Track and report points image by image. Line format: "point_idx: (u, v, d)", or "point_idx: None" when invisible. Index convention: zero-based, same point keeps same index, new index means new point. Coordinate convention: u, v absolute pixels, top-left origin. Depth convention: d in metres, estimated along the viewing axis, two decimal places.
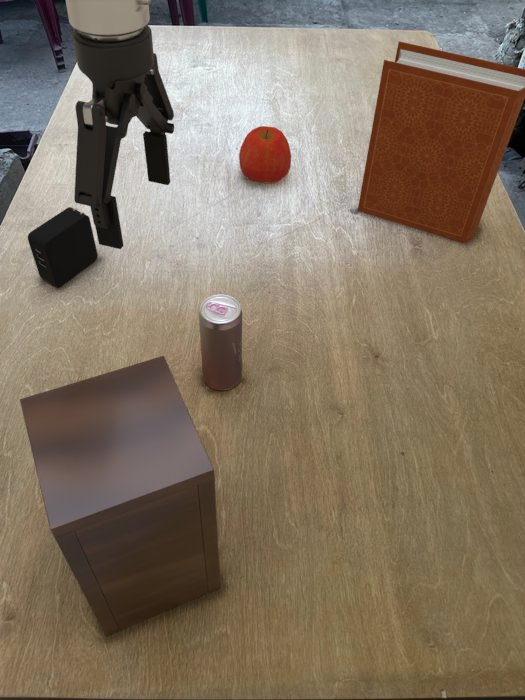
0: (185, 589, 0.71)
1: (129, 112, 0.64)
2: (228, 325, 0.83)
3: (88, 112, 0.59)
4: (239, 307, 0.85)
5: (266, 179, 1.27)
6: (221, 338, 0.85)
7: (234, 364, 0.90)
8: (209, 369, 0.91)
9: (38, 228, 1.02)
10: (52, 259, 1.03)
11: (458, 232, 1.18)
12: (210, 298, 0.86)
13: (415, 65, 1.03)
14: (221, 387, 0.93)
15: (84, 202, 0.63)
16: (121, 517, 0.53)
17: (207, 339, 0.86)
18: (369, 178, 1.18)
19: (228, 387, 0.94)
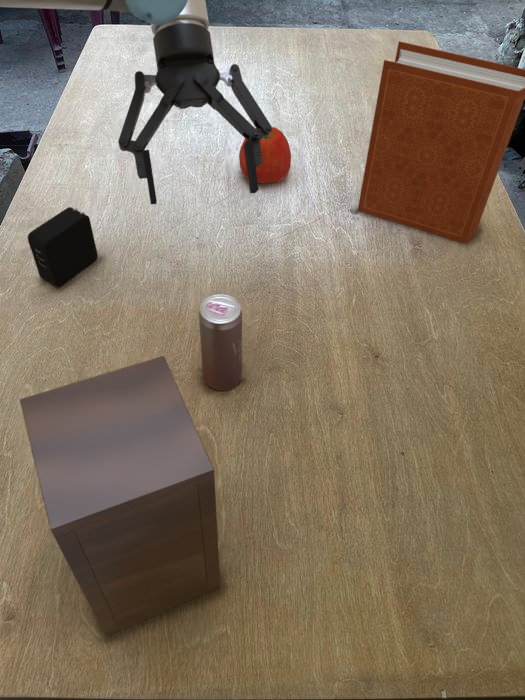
0: (185, 589, 0.71)
1: None
2: (228, 325, 0.83)
3: None
4: (239, 307, 0.85)
5: (266, 179, 1.27)
6: (221, 338, 0.85)
7: (234, 364, 0.90)
8: (209, 369, 0.91)
9: (38, 228, 1.02)
10: (52, 259, 1.03)
11: (458, 232, 1.18)
12: (210, 298, 0.86)
13: (415, 65, 1.03)
14: (221, 387, 0.93)
15: None
16: (121, 517, 0.53)
17: (207, 339, 0.86)
18: (369, 178, 1.18)
19: (228, 387, 0.94)
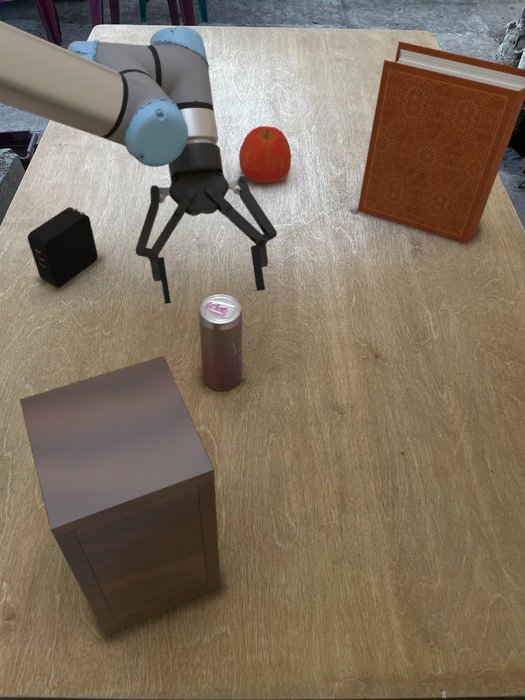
0: (185, 589, 0.71)
1: None
2: (228, 325, 0.83)
3: None
4: (239, 307, 0.85)
5: (266, 179, 1.27)
6: (221, 338, 0.85)
7: (234, 364, 0.90)
8: (209, 369, 0.91)
9: (38, 228, 1.02)
10: (52, 259, 1.03)
11: (458, 232, 1.18)
12: (210, 298, 0.86)
13: (415, 65, 1.03)
14: (221, 387, 0.93)
15: None
16: (121, 517, 0.53)
17: (207, 339, 0.86)
18: (369, 178, 1.18)
19: (228, 387, 0.94)
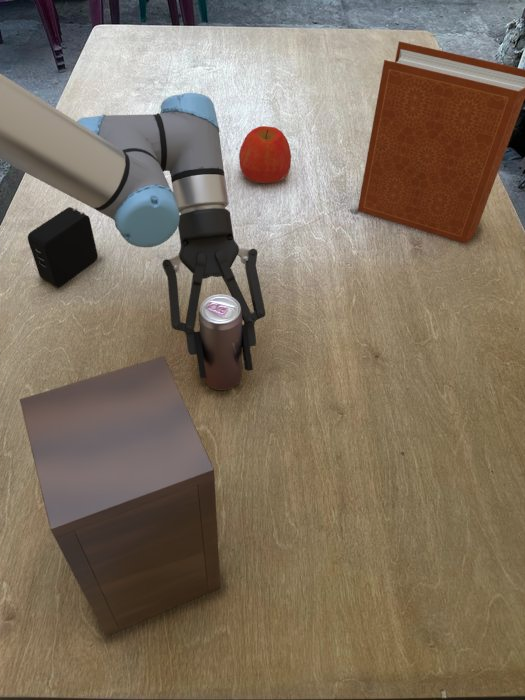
0: (185, 589, 0.71)
1: None
2: (228, 325, 0.83)
3: None
4: (239, 307, 0.85)
5: (266, 179, 1.27)
6: (221, 338, 0.85)
7: (234, 364, 0.90)
8: (209, 369, 0.91)
9: (38, 228, 1.02)
10: (52, 259, 1.03)
11: (458, 232, 1.18)
12: (210, 298, 0.86)
13: (415, 65, 1.03)
14: (221, 387, 0.93)
15: None
16: (121, 517, 0.53)
17: (207, 339, 0.86)
18: (369, 178, 1.18)
19: (228, 387, 0.94)
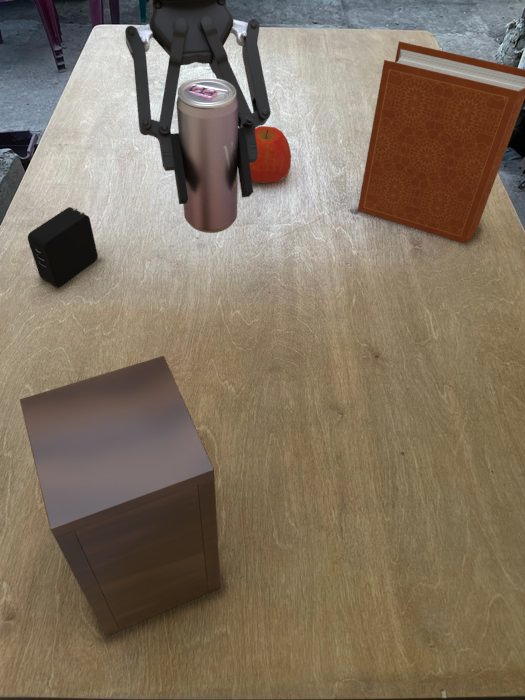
0: (185, 589, 0.71)
1: None
2: (218, 110, 0.58)
3: None
4: (234, 91, 0.60)
5: (266, 179, 1.27)
6: (208, 133, 0.60)
7: (227, 187, 0.65)
8: (192, 196, 0.66)
9: (38, 228, 1.02)
10: (52, 259, 1.03)
11: (458, 232, 1.18)
12: (193, 82, 0.61)
13: (415, 65, 1.03)
14: (210, 227, 0.68)
15: None
16: (121, 517, 0.53)
17: (189, 139, 0.61)
18: (369, 178, 1.18)
19: (219, 227, 0.68)
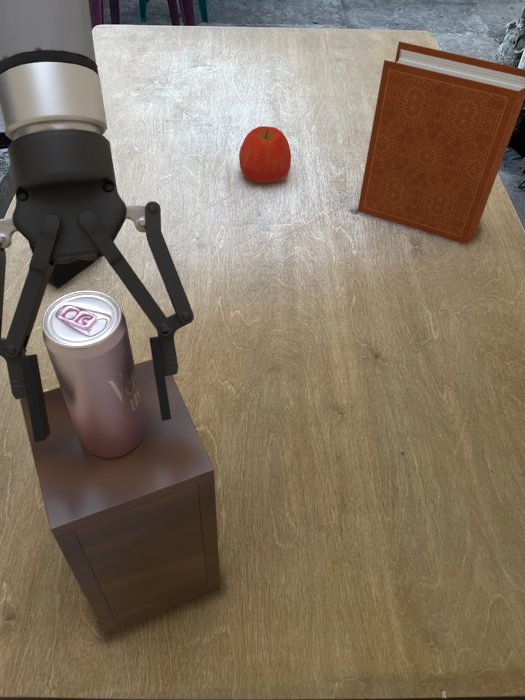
0: (185, 589, 0.71)
1: None
2: (94, 348, 0.43)
3: None
4: (119, 314, 0.45)
5: (266, 179, 1.27)
6: (84, 373, 0.45)
7: (122, 417, 0.50)
8: (78, 425, 0.51)
9: None
10: None
11: (458, 232, 1.18)
12: (67, 297, 0.46)
13: (415, 65, 1.03)
14: (106, 454, 0.53)
15: None
16: (121, 517, 0.53)
17: (61, 374, 0.46)
18: (369, 178, 1.18)
19: (119, 453, 0.53)
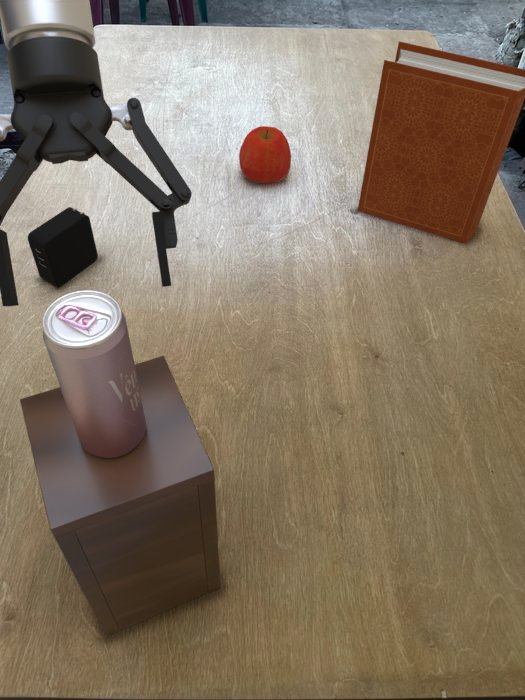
0: (185, 589, 0.71)
1: None
2: (94, 349, 0.43)
3: None
4: (119, 314, 0.45)
5: (266, 179, 1.27)
6: (84, 373, 0.45)
7: (122, 417, 0.50)
8: (78, 425, 0.51)
9: (38, 228, 1.02)
10: (52, 259, 1.03)
11: (458, 232, 1.18)
12: (67, 297, 0.46)
13: (415, 65, 1.03)
14: (106, 454, 0.53)
15: None
16: (121, 517, 0.53)
17: (61, 374, 0.46)
18: (369, 178, 1.18)
19: (119, 453, 0.53)
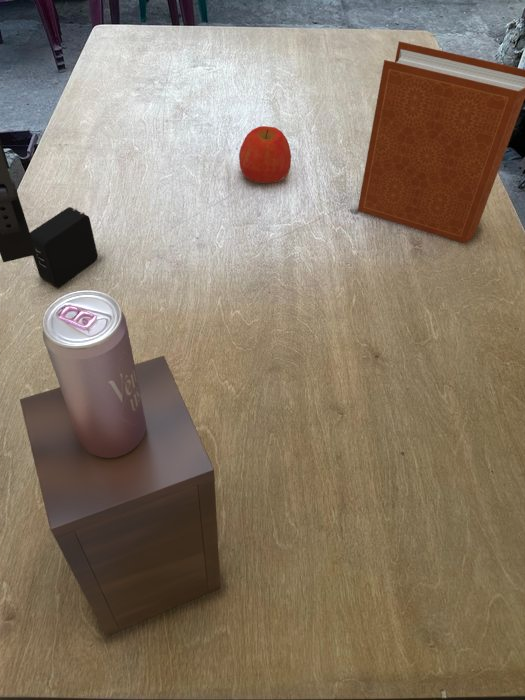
0: (185, 589, 0.71)
1: None
2: (94, 348, 0.43)
3: None
4: (119, 314, 0.45)
5: (266, 179, 1.27)
6: (84, 373, 0.45)
7: (122, 417, 0.50)
8: (78, 425, 0.51)
9: (38, 228, 1.02)
10: (52, 259, 1.03)
11: (458, 232, 1.18)
12: (67, 297, 0.46)
13: (415, 65, 1.03)
14: (106, 454, 0.53)
15: None
16: (121, 517, 0.53)
17: (61, 374, 0.46)
18: (369, 178, 1.18)
19: (119, 453, 0.53)
